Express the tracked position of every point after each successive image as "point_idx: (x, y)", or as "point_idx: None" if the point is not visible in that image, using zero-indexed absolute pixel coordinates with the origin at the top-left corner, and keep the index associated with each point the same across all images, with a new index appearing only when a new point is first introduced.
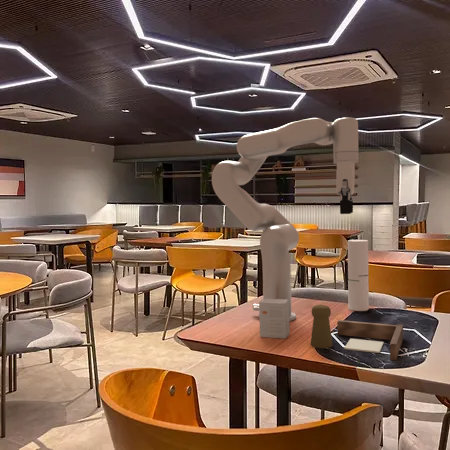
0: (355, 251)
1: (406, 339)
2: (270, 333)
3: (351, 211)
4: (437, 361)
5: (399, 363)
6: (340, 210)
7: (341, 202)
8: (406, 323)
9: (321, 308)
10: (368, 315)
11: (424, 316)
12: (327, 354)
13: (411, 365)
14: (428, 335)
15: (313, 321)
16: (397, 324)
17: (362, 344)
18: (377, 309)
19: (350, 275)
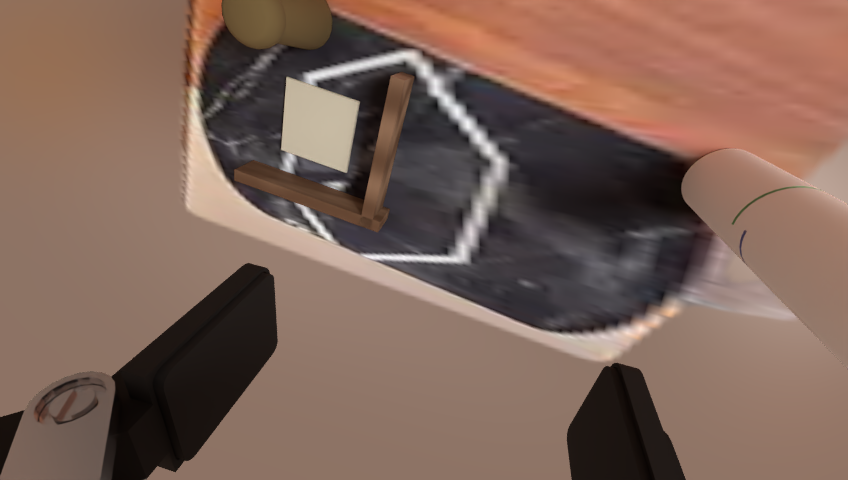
0: (836, 287)
1: None
2: None
3: (571, 438)
4: (269, 232)
5: None
6: (224, 283)
7: (146, 366)
8: (514, 262)
9: (223, 15)
10: (614, 193)
11: (581, 318)
12: None
13: (237, 187)
14: (417, 271)
15: None
16: (378, 222)
17: (318, 123)
18: (692, 236)
19: (783, 200)
